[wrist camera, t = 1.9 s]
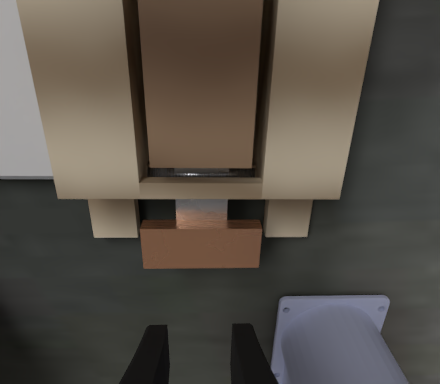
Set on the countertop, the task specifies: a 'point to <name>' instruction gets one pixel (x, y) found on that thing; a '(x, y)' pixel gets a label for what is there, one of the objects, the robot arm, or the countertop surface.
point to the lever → (201, 230)
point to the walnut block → (200, 81)
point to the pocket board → (136, 112)
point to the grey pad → (19, 105)
